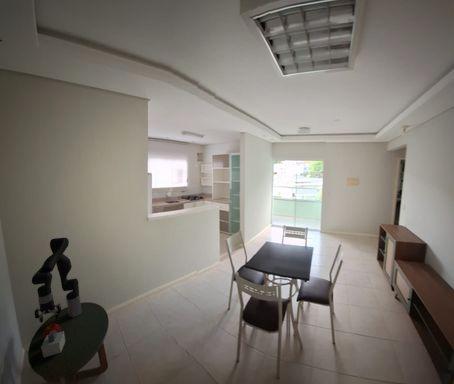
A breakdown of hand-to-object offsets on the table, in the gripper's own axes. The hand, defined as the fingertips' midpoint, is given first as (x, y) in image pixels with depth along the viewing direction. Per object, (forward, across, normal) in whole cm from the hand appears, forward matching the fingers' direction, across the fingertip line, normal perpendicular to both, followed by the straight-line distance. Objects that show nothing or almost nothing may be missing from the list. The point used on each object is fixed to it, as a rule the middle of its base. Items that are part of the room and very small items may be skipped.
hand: (49, 320), depth 149 cm
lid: (+18, 0, 0) cm, 18 cm away
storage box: (+24, 0, 0) cm, 24 cm away
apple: (+25, +5, -13) cm, 28 cm away
